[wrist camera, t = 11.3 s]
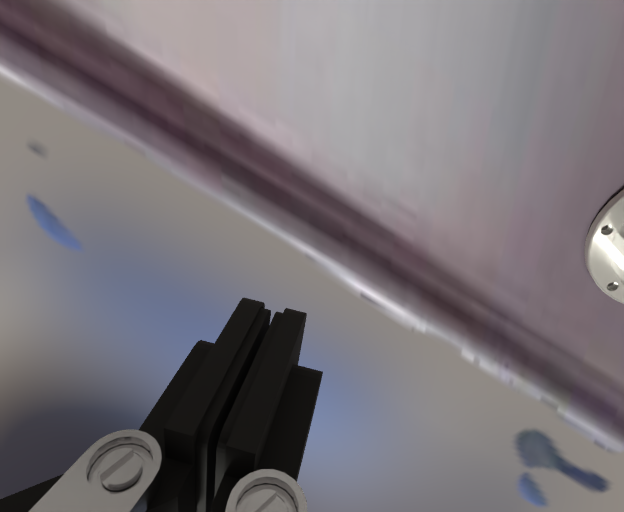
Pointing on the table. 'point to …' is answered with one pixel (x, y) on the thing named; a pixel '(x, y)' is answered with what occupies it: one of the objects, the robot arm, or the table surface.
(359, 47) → the table surface
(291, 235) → the table surface
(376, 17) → the table surface
